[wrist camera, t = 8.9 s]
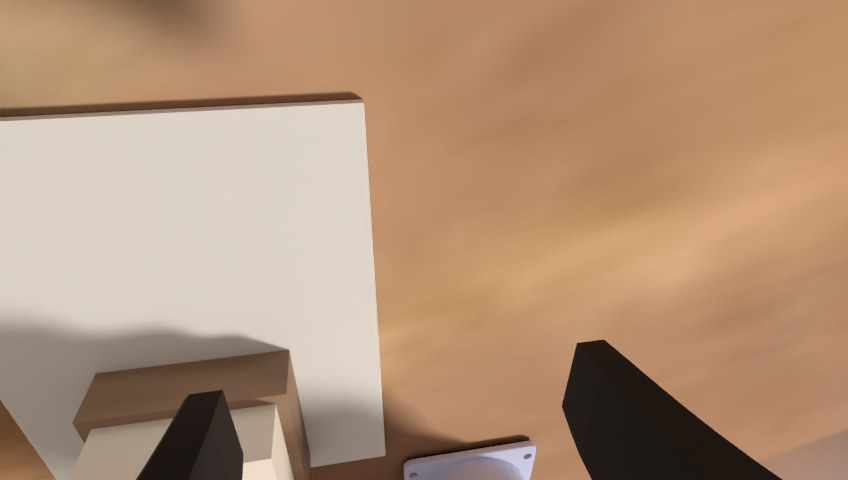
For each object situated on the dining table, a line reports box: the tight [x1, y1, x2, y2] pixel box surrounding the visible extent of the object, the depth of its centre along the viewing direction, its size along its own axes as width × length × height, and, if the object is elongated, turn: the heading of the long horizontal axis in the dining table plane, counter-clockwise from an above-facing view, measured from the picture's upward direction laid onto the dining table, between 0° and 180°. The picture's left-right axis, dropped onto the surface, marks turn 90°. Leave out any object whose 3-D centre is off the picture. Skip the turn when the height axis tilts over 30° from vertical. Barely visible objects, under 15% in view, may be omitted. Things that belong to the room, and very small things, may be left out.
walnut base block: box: [72, 350, 311, 480], centre depth 23 cm, size 8×8×2 cm
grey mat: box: [0, 99, 386, 480], centre depth 21 cm, size 20×16×1 cm
